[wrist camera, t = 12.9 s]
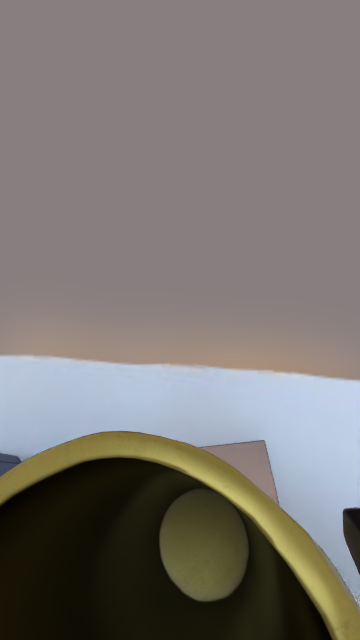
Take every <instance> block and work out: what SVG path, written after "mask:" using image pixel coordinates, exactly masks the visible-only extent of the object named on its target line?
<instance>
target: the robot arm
mask: <svg viewBox="0 0 360 640" xmlns="http://www.w3.org/2000/svg"><path fill="white" fill-rule="evenodd" d="M343 532H344V537H345V541H346V544H347V546H348V548H349V551H350V553H351V555H352V558H353V560H354V563H355V565H356V567H357V570H358V572H359V574H360V508H345V509H344V510H343Z"/></svg>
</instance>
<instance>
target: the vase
mask: <svg viewBox="0 0 360 640" xmlns="http://www.w3.org/2000/svg"><path fill="white" fill-rule="evenodd" d="M0 640H360V607H359V605H358V604H357V602H356V600H355V599H354V597H353V596H352V594H351V592H350V591H349V589H348V587H347V585H346V584H345V582H344V580H343V579H342V577H341V575H340V574H339V572H338V570H337V569H336V568H335V566H334V565H333V563H332V562H331V561H330V559H329V558H328V556H327V555H326V554H325V552H324V551H323V550H322V549H321V548H320V547H319V546H318V545H317V544H316V543H315V542H314V540H313V539H312V538H311V537H310V536H309V534H308V533H307V532H306V531H305V530H304V529H303V528H302V527H301V526H300V525H299V524H298V523H297V522H296V521H294V520H293V519H292V518H291V517H290V516H289V515H288V514H287V513H286V512H285V511H284V510H283V509H282V508H281V507H280V506H279V505H278V504H277V503H276V502H274V501H273V500H272V499H271V498H270V497H269V496H268V495H267V494H266V493H265V492H264V491H262V490H261V489H260V488H259V487H258V486H256V485H255V484H254V483H253V482H252V481H250V480H249V479H248V478H247V477H245V476H244V475H243V474H242V473H241V472H239V471H238V470H237V469H236V468H234V467H233V466H231V465H230V464H228V463H226V462H225V461H223V460H222V459H220V458H218V457H217V456H215V455H213V454H212V453H210V452H208V451H205V450H203V449H200V448H197V447H195V446H192V445H190V444H187V443H184V442H180V441H175V440H172V439H168V438H165V437H161V436H156V435H150V434H145V433H140V432H129V431H111V432H100V433H95V434H91V435H87V436H83V437H80V438H77V439H74V440H71V441H68V442H65V443H63V444H60V445H58V446H55V447H52V448H50V449H47V450H45V451H43V452H41V453H39V454H37V455H35V456H33V457H30V458H28V459H26V460H25V461H23V462H22V463H20V464H19V465H17V466H16V467H14V468H13V469H11V470H10V471H8V472H6V473H5V474H4V475H2V476H1V477H0Z"/></svg>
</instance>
